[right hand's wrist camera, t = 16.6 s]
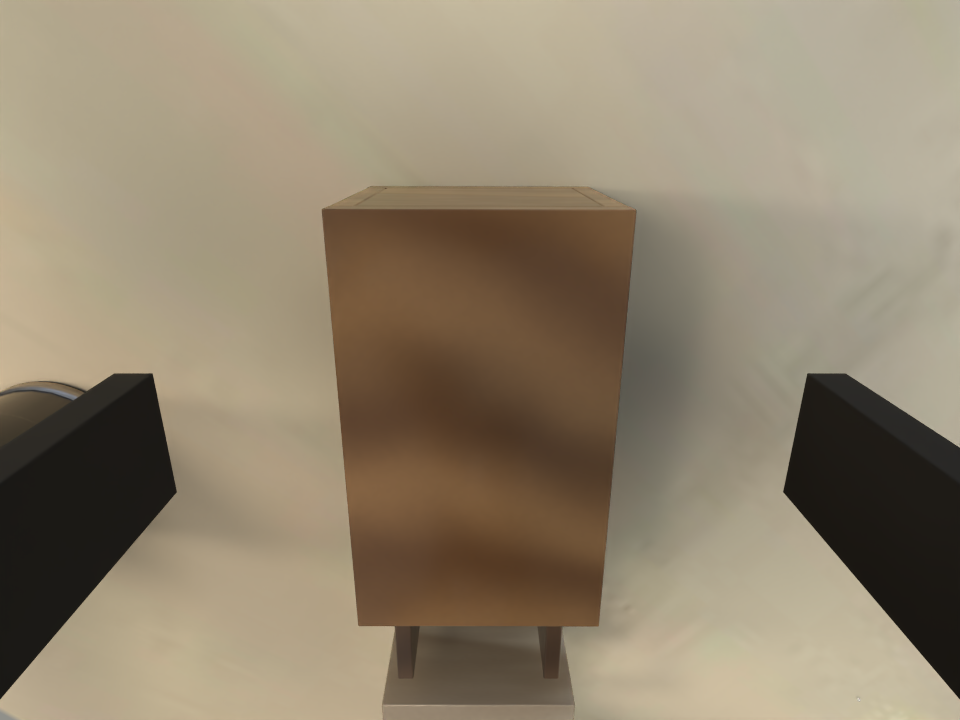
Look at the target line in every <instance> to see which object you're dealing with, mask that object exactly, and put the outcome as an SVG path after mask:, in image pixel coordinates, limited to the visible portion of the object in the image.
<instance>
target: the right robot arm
mask: <svg viewBox="0 0 960 720" xmlns="http://www.w3.org/2000/svg"><path fill="white" fill-rule="evenodd" d="M176 492H177V491H176V486H175V481H174V476H173V471H172V466H171V462H170V457H169V452H168V447H167V442H166V437H165V432H164V427H163V422H162V418H161V413H160V408H159V403H158V398H157V393H156V388H155V383H154V378H153V374H113V375H111V376H110V377H108V378H107V379H105V380H104V381H102V382H101V383H99V384H98V385H96V386H94V387H93V388H91V389H90V390H88V391H87V392H85V393H84V394H82V395H81V396H79V397H78V398H76V399H74V400H73V401H71V402H70V403H68V404H67V405H65V406H64V407H62V408H61V409H59V410H58V411H56V412H54V413H53V414H51V415H50V416H48V417H47V418H45V419H44V420H42V421H41V422H39V423H38V424H36V425H34V426H33V427H31V428H30V429H28V430H27V431H25V432H24V433H22V434H21V435H19V436H18V437H16V438H14V439H13V440H11V441H10V442H8V443H7V444H5V445H4V446H2V447H1V448H0V699H1V698H2V697H3V695H4V694H5V693H6V692H7V691H8V689H9V688H10V687H11V686H12V685H13V684H14V682H15V681H16V680H17V679H18V678H19V677H20V675H21V674H22V673H23V672H24V671H25V670H26V668H27V667H28V666H29V665H30V664H31V662H32V661H33V660H34V659H35V658H36V657H37V655H38V654H39V653H40V652H41V651H42V650H43V648H44V647H45V646H46V645H47V644H48V643H49V641H50V640H51V639H52V638H53V637H54V635H55V634H56V633H57V632H58V631H59V630H60V628H61V627H62V626H63V625H64V624H65V623H66V621H67V620H68V619H69V618H70V617H71V616H72V614H73V613H74V612H75V611H76V610H77V608H78V607H79V606H80V605H81V604H82V603H83V601H84V600H85V599H86V598H87V597H88V596H89V594H90V593H91V592H92V591H93V590H94V589H95V587H96V586H97V585H98V584H99V583H100V581H101V580H102V579H103V578H104V577H105V576H106V574H107V573H108V572H109V571H110V570H111V569H112V567H113V566H114V565H115V564H116V563H117V562H118V560H119V559H120V558H121V557H122V556H123V554H124V553H125V552H126V551H127V550H128V549H129V547H130V546H131V545H132V544H133V543H134V542H135V540H136V539H137V538H138V537H139V536H140V535H141V533H142V532H143V531H144V530H145V529H146V527H147V526H148V525H149V524H150V523H151V522H152V520H153V519H154V518H155V517H156V516H157V515H158V513H159V512H160V511H161V510H162V509H163V508H164V506H165V505H166V504H167V503H168V502H169V500H170V499H171V498H172V497H173V496H174V495H175V493H176ZM783 492H784V493H785V495H786V496H787V497H788V498H789V499H790V500H791V502H792V503H793V504H794V505H795V506H796V508H797V509H798V510H799V511H800V512H801V513H802V515H803V516H804V517H805V518H806V519H807V520H808V522H809V523H810V524H811V525H812V526H813V527H814V529H815V530H816V531H817V532H818V533H819V535H820V536H821V537H822V538H823V539H824V540H825V542H826V543H827V544H828V545H829V546H830V547H831V549H832V550H833V551H834V552H835V553H836V554H837V556H838V557H839V558H840V559H841V560H842V562H843V563H844V564H845V565H846V566H847V567H848V569H849V570H850V571H851V572H852V573H853V574H854V576H855V577H856V578H857V579H858V580H859V581H860V583H861V584H862V585H863V586H864V587H865V589H866V590H867V591H868V592H869V593H870V594H871V596H872V597H873V598H874V599H875V600H876V601H877V603H878V604H879V605H880V606H881V607H882V608H883V610H884V611H885V612H886V613H887V614H888V616H889V617H890V618H891V619H892V620H893V621H894V623H895V624H896V625H897V626H898V627H899V628H900V630H901V631H902V632H903V633H904V634H905V635H906V637H907V638H908V639H909V640H910V641H911V643H912V644H913V645H914V646H915V647H916V648H917V650H918V651H919V652H920V653H921V654H922V655H923V657H924V658H925V659H926V660H927V661H928V662H929V664H930V665H931V666H932V667H933V668H934V670H935V671H936V672H937V673H938V674H939V675H940V677H941V678H942V679H943V680H944V681H945V682H946V684H947V685H948V686H949V687H950V688H951V689H952V691H953V692H954V693H955V694H956V695H957V697H958V698H959V699H960V448H959V447H958V446H956V445H955V444H953V443H952V442H950V441H949V440H947V439H946V438H944V437H942V436H941V435H939V434H938V433H936V432H935V431H933V430H932V429H930V428H929V427H927V426H926V425H924V424H922V423H921V422H919V421H918V420H916V419H915V418H913V417H912V416H910V415H909V414H907V413H906V412H904V411H902V410H901V409H899V408H898V407H896V406H895V405H893V404H892V403H890V402H889V401H887V400H886V399H884V398H882V397H881V396H879V395H878V394H876V393H875V392H873V391H872V390H870V389H869V388H867V387H866V386H864V385H862V384H861V383H859V382H858V381H856V380H855V379H853V378H852V377H850V376H849V375H847V374H807V378H806V383H805V388H804V393H803V398H802V403H801V408H800V413H799V418H798V422H797V427H796V432H795V437H794V442H793V447H792V452H791V457H790V462H789V466H788V471H787V476H786V481H785V486H784V491H783Z"/></svg>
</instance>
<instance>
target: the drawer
mask: <svg viewBox="0 0 960 720" xmlns="http://www.w3.org/2000/svg"><path fill="white" fill-rule="evenodd" d="M574 710H575V703H574V697H573V691H572V685H571V679H570V673H569V667H568V661H567V655H566V649H565V643H564V637H563V631H562V626H395V633H394V639H393V644H392V650H391V656H390V662H389V668H388V674H387V679H386V685H385V691H384V697H383V703H382V711H383V720H574Z"/></svg>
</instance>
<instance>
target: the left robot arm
mask: <svg viewBox="0 0 960 720" xmlns="http://www.w3.org/2000/svg"><path fill="white" fill-rule="evenodd" d="M82 394H84V392H82V391H80V390H77V389H75V388H72V387H69V386H65V385H62V384H57V383H50V382H28V383H22V384H18V385H15V386H12V387H9V388H7V389H5V390H3V391H1V392H0V448H1V447H2V446H4V445H5V444H7V443H8V442H10V441H11V440H13V439H14V438H16V437H18V436H19V435H21V434H22V433H24V432H25V431H27V430H28V429H30V428H31V427H33V426H34V425H36V424H38V423H39V422H41V421H42V420H44V419H45V418H47V417H48V416H50V415H51V414H53V413H54V412H56V411H58V410H59V409H61V408H62V407H64V406H65V405H67V404H68V403H70V402H71V401H73V400H74V399H76V398H78V397H79V396H81V395H82Z"/></svg>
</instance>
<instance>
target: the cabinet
mask: <svg viewBox="0 0 960 720" xmlns="http://www.w3.org/2000/svg"><path fill="white" fill-rule="evenodd" d="M322 217H323V229H324V240H325V251H326V263H327V274H328V285H329V297H330V308H331V320H332V331H333V342H334V354H335V365H336V376H337V388H338V399H339V410H340V422H341V433H342V445H343V456H344V467H345V479H346V490H347V501H348V513H349V524H350V536H351V547H352V558H353V570H354V581H355V592H356V604H357V615H358V625H359V626H599V617H600V606H601V595H602V584H603V573H604V562H605V551H606V540H607V529H608V517H609V506H610V495H611V484H612V473H613V462H614V451H615V440H616V429H617V418H618V407H619V396H620V385H621V374H622V363H623V352H624V341H625V330H626V319H627V308H628V297H629V286H630V275H631V264H632V253H633V242H634V231H635V220H636V210H635V209H633V208H631V207H628V206H626V205H624V204H622V203H620V202H618V201H616V200H614V199H612V198H610V197H608V196H606V195H603V194H601V193H599V192H597V191H595V190H593V189H592V188H590V187H476V186H370V187H368V188H367V189H365V190H363V191H361V192H358V193H356V194H354V195H352V196H350V197H348V198H346V199H344V200H342V201H339V202H337V203H335V204H333V205H331V206H328V207H326V208H324V209H322Z"/></svg>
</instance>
